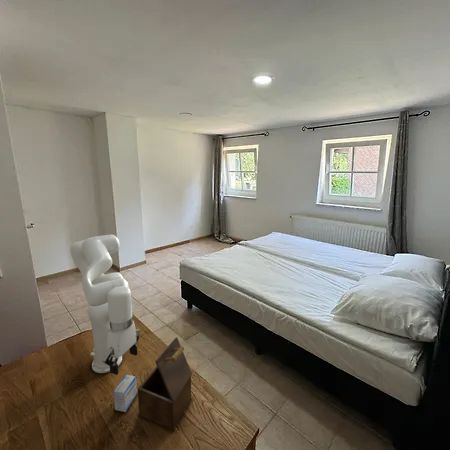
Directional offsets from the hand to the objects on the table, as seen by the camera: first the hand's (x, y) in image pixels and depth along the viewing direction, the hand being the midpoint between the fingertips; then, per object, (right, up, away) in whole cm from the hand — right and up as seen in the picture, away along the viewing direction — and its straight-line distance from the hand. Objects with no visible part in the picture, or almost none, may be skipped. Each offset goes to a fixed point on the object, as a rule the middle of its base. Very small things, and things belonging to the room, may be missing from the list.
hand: (124, 363), depth 90 cm
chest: (+15, -18, +3) cm, 23 cm away
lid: (+19, 0, -3) cm, 19 cm away
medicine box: (-1, -18, +4) cm, 18 cm away
